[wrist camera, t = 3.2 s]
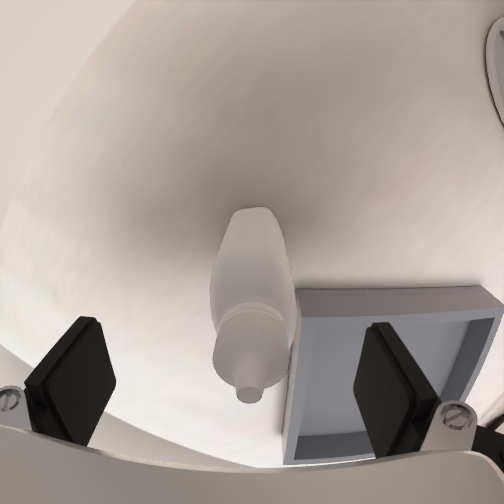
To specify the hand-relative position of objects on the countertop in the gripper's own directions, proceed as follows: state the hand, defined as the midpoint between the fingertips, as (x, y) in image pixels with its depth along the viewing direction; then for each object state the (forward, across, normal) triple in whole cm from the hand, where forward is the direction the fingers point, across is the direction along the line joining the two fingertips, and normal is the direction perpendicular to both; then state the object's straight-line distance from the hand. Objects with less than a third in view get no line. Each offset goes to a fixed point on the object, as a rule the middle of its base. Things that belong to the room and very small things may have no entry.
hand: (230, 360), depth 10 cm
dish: (+10, -11, +9) cm, 17 cm away
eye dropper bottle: (+10, -1, -1) cm, 10 cm away
